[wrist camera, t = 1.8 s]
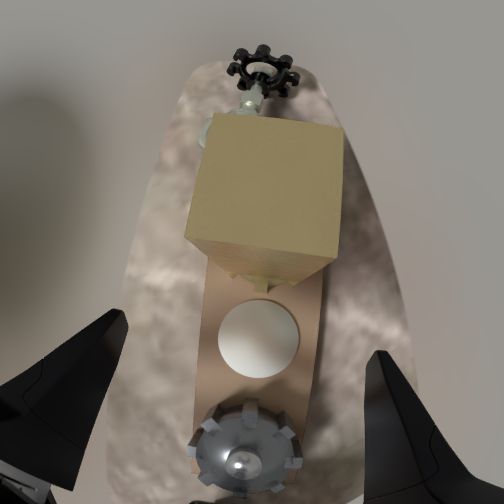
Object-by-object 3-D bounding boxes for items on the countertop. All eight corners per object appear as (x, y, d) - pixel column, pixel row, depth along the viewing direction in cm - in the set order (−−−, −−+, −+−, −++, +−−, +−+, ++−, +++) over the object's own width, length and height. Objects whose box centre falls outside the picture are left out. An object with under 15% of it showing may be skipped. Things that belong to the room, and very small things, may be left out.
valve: (267, 207, 23) (297, 99, 25) (268, 171, 17) (304, 51, 18) (191, 189, 24) (233, 87, 26) (168, 152, 17) (226, 39, 19)
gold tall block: (308, 299, 20) (363, 293, 9) (213, 285, 21) (151, 262, 9) (318, 208, 22) (366, 114, 10) (228, 196, 22) (196, 94, 10)
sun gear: (290, 481, 18) (294, 508, 14) (195, 471, 18) (183, 496, 14) (305, 401, 19) (313, 421, 15) (199, 390, 20) (185, 408, 16)
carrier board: (292, 478, 19) (293, 485, 17) (193, 467, 19) (190, 474, 18) (323, 208, 23) (326, 203, 22) (218, 199, 23) (216, 194, 22)
